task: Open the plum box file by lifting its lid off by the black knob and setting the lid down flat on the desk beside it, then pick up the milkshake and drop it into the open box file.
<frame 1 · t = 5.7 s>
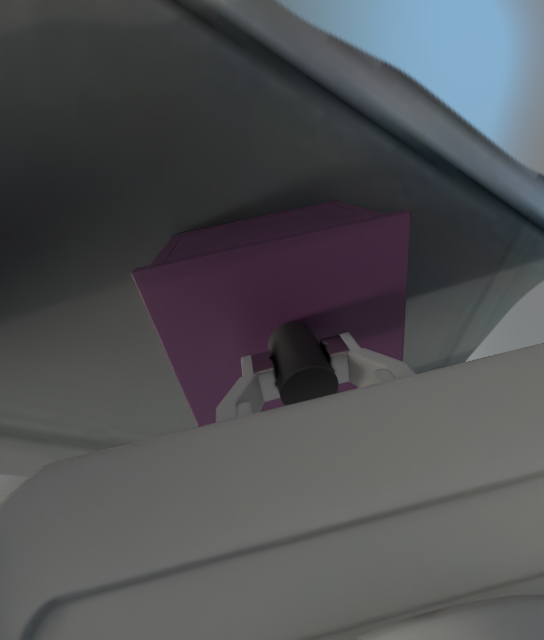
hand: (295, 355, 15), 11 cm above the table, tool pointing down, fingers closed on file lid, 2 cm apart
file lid: (289, 336, 16), point 9 cm above the table, touching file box, gripper
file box: (268, 281, 24), on the table
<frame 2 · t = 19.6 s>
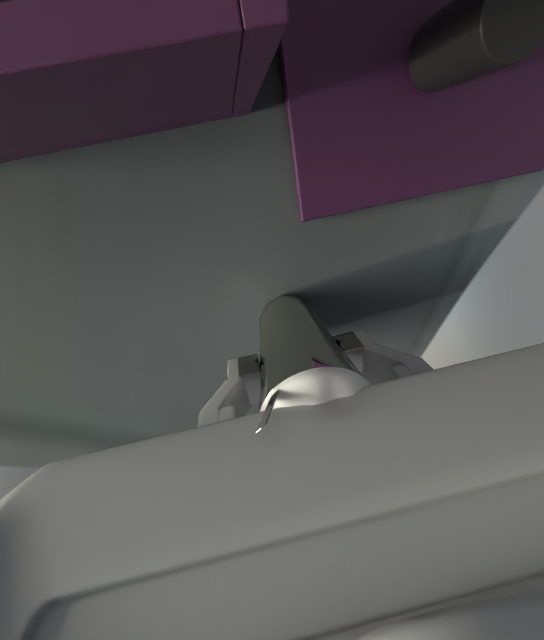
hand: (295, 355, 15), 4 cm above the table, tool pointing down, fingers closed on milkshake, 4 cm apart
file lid: (427, 59, 13), on the table
milkshake: (280, 313, 18), on the table, touching gripper
when the fingers open (11 cm above the table, at t = 27.3 s): milkshake drops 6 cm, resting on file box.
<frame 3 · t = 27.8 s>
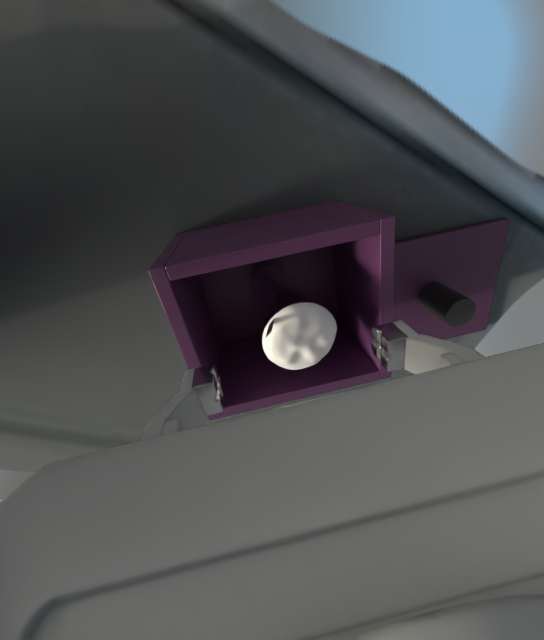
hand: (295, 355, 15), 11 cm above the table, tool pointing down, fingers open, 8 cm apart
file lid: (426, 292, 27), on the table
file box: (269, 280, 25), on the table
milkshake: (264, 278, 23), point 1 cm above the table, touching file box
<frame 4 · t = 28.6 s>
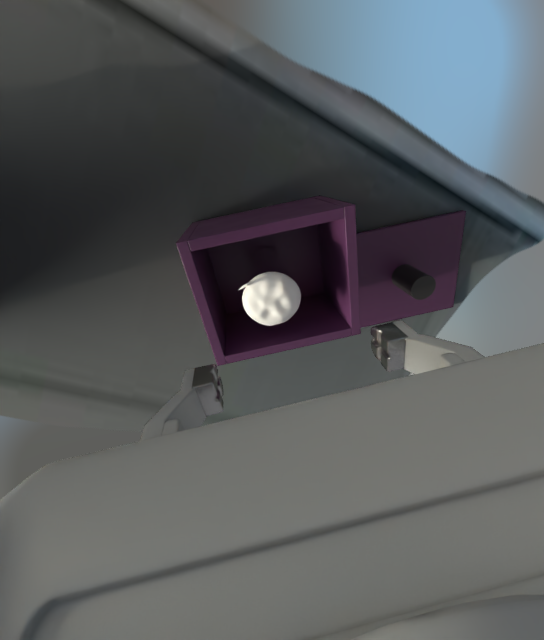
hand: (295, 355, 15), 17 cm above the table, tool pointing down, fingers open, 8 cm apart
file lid: (399, 273, 32), on the table
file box: (267, 261, 30), on the table
milkshake: (262, 259, 29), point 1 cm above the table, touching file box
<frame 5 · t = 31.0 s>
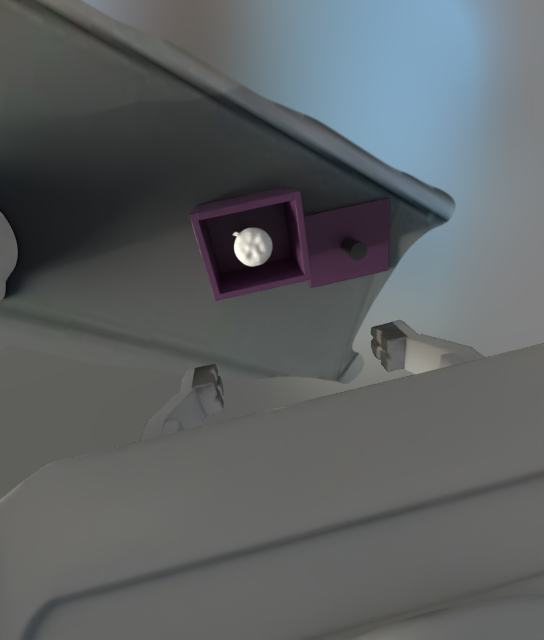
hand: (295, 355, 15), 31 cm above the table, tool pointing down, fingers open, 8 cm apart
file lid: (346, 244, 45), on the table
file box: (249, 234, 42), on the table
milkshake: (246, 232, 41), point 1 cm above the table, touching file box
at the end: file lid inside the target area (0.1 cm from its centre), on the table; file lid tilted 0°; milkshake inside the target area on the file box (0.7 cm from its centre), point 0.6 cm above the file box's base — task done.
